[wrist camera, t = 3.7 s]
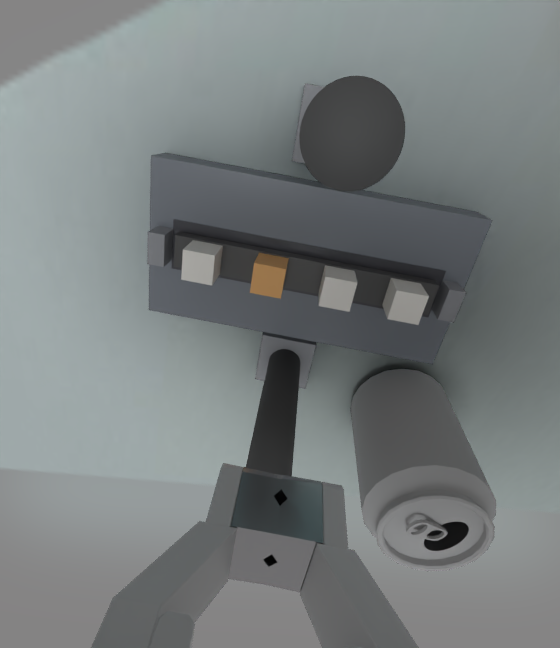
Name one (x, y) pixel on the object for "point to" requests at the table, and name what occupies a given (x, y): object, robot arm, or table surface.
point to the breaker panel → (308, 252)
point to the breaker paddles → (304, 276)
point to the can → (419, 474)
